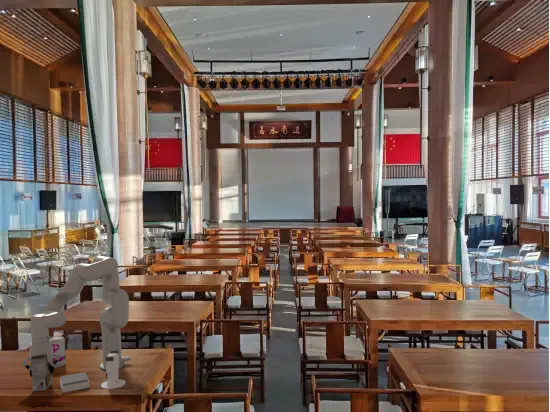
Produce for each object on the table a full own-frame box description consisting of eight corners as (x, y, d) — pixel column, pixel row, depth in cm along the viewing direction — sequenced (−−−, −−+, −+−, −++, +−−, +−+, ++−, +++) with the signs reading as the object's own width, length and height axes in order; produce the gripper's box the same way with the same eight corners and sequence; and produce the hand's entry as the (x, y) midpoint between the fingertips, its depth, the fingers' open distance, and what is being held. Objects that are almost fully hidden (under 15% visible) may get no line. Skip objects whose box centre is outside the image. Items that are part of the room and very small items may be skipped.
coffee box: (39, 383, 248) (37, 351, 247) (52, 383, 248) (51, 350, 248) (32, 391, 239) (30, 357, 238) (46, 390, 239) (44, 356, 239)
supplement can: (59, 368, 270) (58, 340, 270) (46, 367, 272) (44, 340, 271) (68, 363, 278) (67, 336, 278) (55, 362, 280) (54, 335, 279)
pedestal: (86, 379, 252) (85, 371, 252) (89, 387, 241) (88, 379, 241) (60, 384, 246) (59, 376, 246) (62, 392, 236) (61, 384, 236)
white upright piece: (104, 380, 250) (103, 350, 250) (128, 378, 251) (126, 349, 251) (98, 389, 238) (96, 358, 238) (122, 388, 239) (121, 356, 239)
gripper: (59, 335, 250) (61, 370, 250) (20, 341, 242) (22, 377, 243) (60, 339, 243) (62, 374, 244) (20, 345, 235) (22, 382, 236)
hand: (42, 375), depth 243 cm, fingers closed on coffee box, 8 cm apart
